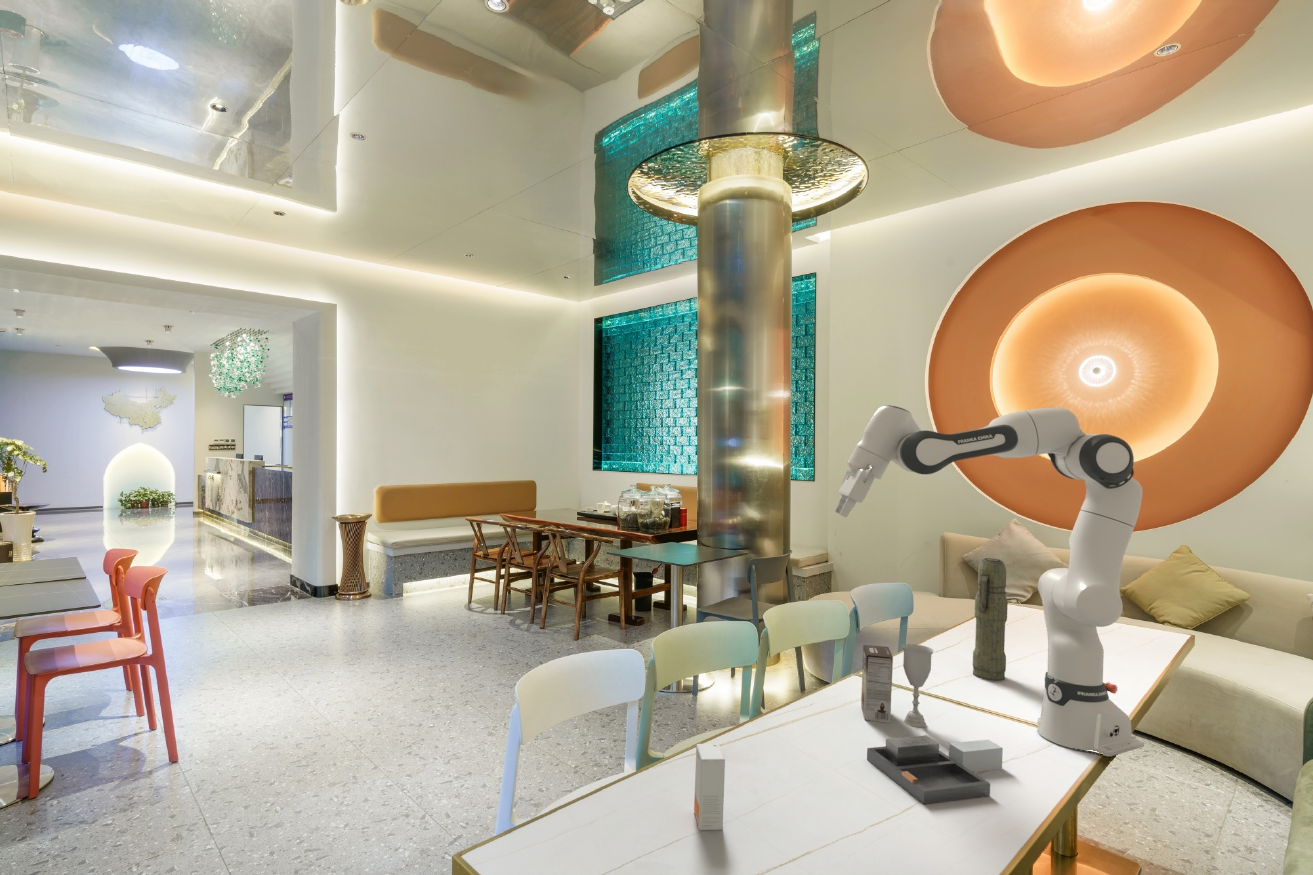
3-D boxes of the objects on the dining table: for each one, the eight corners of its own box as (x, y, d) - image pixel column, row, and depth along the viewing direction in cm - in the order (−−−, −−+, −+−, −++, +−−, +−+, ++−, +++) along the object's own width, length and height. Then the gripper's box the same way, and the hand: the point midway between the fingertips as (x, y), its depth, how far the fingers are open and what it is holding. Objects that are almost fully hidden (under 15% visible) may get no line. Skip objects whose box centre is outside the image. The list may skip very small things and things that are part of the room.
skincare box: (693, 811, 117) (695, 742, 117) (716, 811, 117) (719, 743, 117) (698, 831, 110) (701, 759, 111) (723, 830, 111) (726, 759, 111)
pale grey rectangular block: (987, 760, 142) (988, 739, 142) (1002, 769, 138) (1002, 747, 138) (948, 764, 139) (949, 743, 139) (962, 773, 135) (963, 751, 136)
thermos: (1011, 675, 199) (1014, 559, 200) (998, 684, 191) (1002, 563, 192) (980, 668, 206) (983, 555, 206) (966, 676, 197) (970, 559, 198)
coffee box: (860, 706, 169) (862, 643, 170) (886, 709, 168) (888, 646, 168) (863, 720, 160) (866, 654, 161) (891, 723, 159) (894, 656, 159)
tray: (926, 753, 144) (927, 728, 144) (989, 795, 126) (990, 768, 127) (866, 759, 140) (867, 734, 140) (923, 804, 122) (924, 775, 122)
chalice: (930, 719, 162) (932, 646, 163) (932, 730, 156) (934, 654, 156) (898, 714, 165) (901, 642, 165) (899, 725, 158) (902, 649, 159)
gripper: (886, 471, 152) (858, 524, 153) (871, 470, 172) (846, 517, 173) (861, 458, 153) (833, 511, 154) (849, 459, 173) (824, 505, 174)
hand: (840, 514), depth 163 cm, fingers open, 8 cm apart
